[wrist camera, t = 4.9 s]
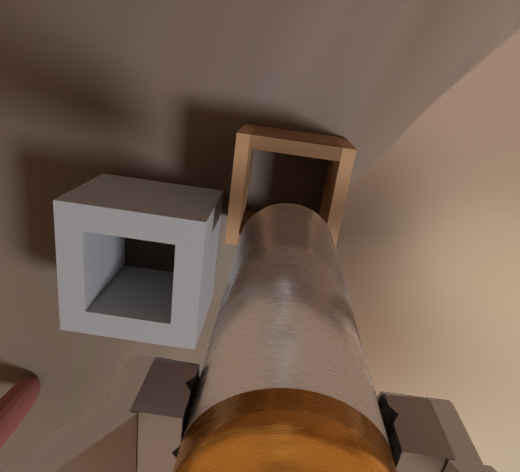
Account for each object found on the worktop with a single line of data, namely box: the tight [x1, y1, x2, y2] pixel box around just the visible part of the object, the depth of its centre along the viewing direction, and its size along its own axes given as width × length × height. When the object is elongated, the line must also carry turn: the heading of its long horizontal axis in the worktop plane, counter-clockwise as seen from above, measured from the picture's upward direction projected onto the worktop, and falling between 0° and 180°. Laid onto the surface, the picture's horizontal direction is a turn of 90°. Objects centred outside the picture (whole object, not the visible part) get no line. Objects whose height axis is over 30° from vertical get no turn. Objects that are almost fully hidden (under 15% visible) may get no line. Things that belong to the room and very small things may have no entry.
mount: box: [225, 123, 357, 247], centre depth 27 cm, size 7×7×5 cm
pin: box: [173, 203, 397, 472], centre depth 12 cm, size 4×4×12 cm
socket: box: [53, 173, 224, 350], centre depth 29 cm, size 9×9×7 cm
